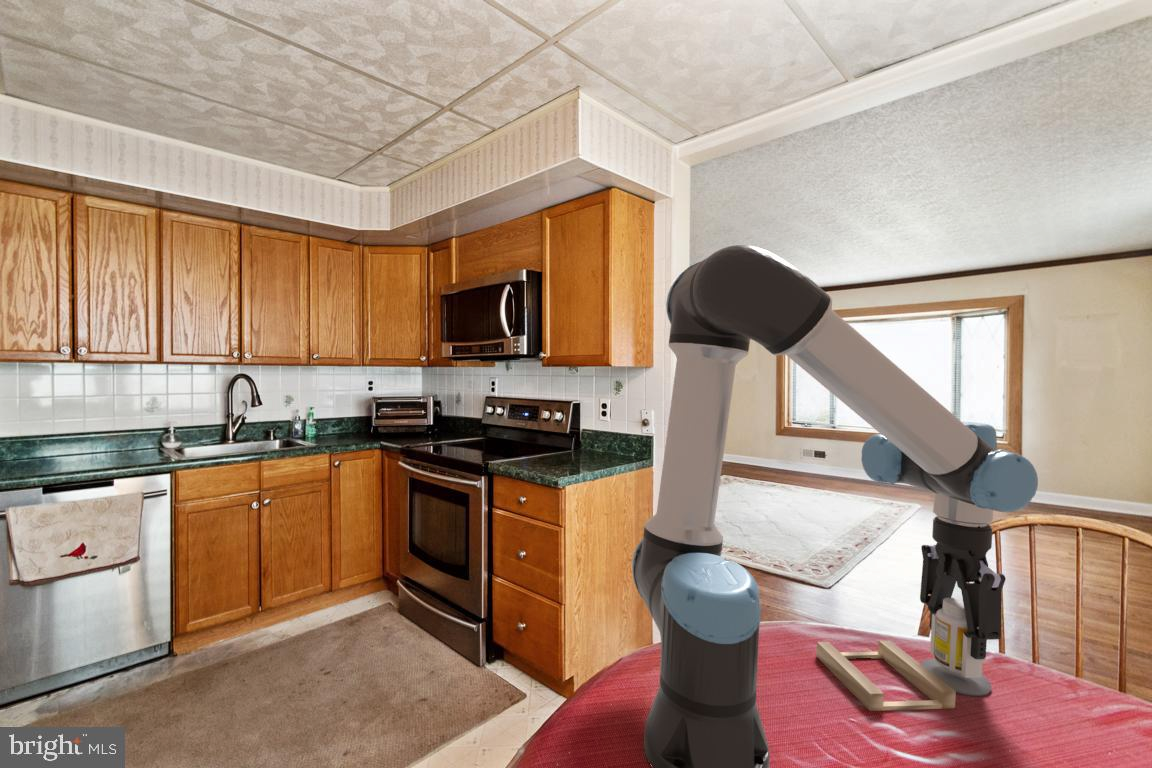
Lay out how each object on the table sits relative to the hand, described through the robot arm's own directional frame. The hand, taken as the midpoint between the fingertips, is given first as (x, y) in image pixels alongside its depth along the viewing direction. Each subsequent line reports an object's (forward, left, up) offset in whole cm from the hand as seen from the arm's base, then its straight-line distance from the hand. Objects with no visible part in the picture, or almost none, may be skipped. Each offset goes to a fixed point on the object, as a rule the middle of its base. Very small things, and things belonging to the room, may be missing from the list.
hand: (954, 664), depth 83 cm
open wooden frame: (-12, 0, -2) cm, 13 cm away
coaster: (0, 0, -2) cm, 2 cm away
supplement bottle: (0, 0, -1) cm, 1 cm away
